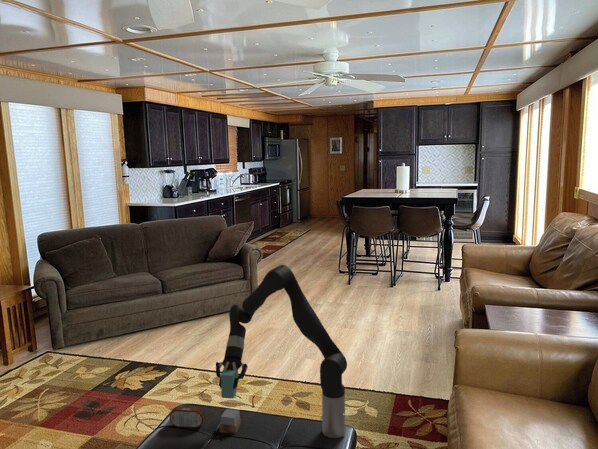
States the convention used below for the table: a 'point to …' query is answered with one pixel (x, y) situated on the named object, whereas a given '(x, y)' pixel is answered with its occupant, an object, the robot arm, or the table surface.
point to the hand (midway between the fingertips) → (227, 387)
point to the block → (228, 384)
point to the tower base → (230, 428)
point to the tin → (187, 417)
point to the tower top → (230, 417)
